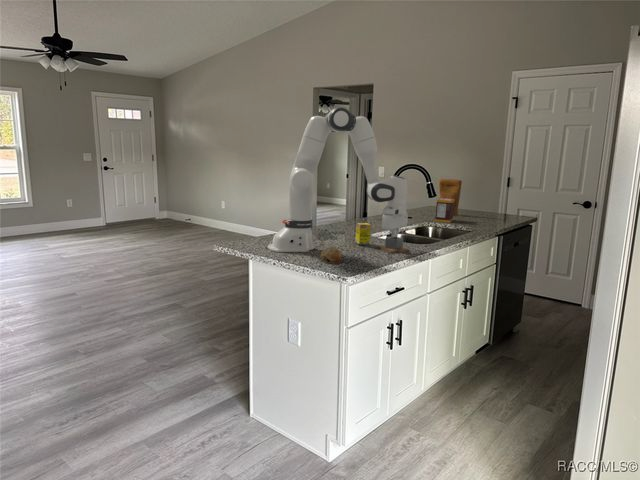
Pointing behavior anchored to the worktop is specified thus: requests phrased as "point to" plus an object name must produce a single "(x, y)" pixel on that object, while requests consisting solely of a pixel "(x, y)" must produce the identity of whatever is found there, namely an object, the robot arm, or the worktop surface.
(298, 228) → the robot arm
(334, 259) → the bread roll
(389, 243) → the grey hollow block
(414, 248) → the worktop surface
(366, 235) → the supplement box
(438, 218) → the supplement box
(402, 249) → the tan flat piece
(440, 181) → the pancake mix bag
